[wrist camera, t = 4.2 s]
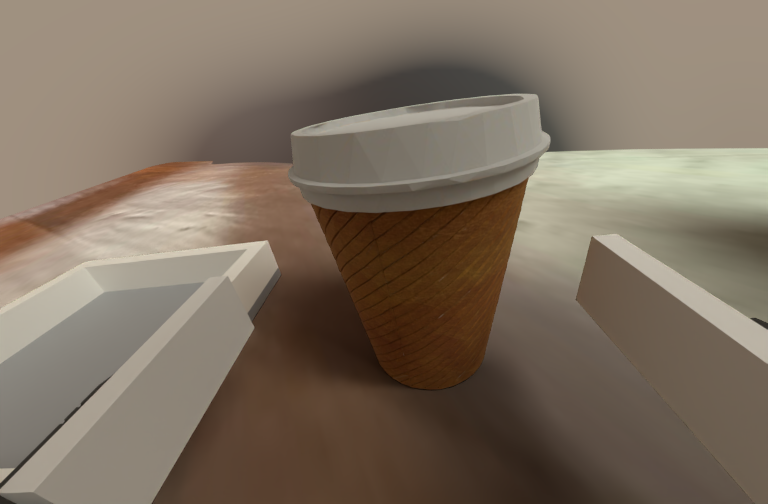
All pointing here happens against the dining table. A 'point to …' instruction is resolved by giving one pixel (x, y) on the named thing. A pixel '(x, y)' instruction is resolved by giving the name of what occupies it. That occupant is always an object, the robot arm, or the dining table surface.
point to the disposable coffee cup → (423, 222)
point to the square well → (102, 329)
